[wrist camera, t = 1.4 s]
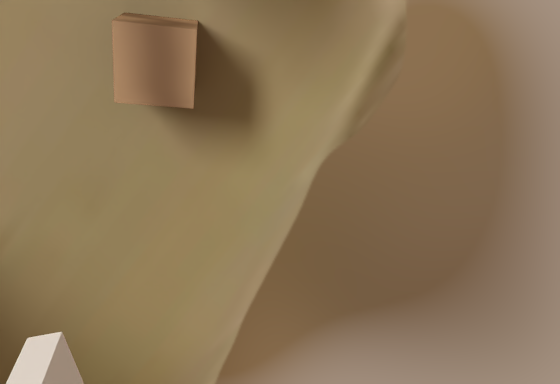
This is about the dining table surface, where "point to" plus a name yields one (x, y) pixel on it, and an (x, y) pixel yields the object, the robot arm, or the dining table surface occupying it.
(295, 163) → the dining table surface
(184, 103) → the walnut block
